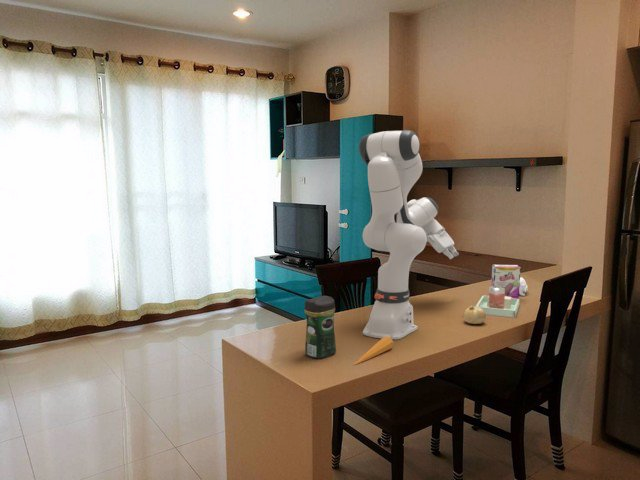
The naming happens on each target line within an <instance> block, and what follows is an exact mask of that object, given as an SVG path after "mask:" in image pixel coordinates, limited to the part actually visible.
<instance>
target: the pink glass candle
mask: <svg viewBox="0 0 640 480" xmlns="http://www.w3.org/2000/svg"><path fill="white" fill-rule="evenodd" d="M488 296H489V305H488V307H489V308H498V309H504V305H505V287H502V286H491V285H490V286H489V287H488Z"/></svg>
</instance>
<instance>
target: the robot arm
mask: <svg viewBox="0 0 640 480" xmlns="http://www.w3.org/2000/svg"><path fill="white" fill-rule="evenodd" d="M419 152H420V138H419V137H418V135H417V134H416V132H414V130H409V129H404V130H386V131H378V132H375V133H373V132H371V133H368V134H366V135H363V136H362V137H361V139H360V141H359V143H358V153H359V156H360V158H361V159H362V161H363V162H364V163H365V165H367V182H368V183H367V184H368V190H369V195H370V200H371V201H370V202H371V211H372V212H371V218H370V220H369V222H368V223H367V224H366V225H365V226H364V228H363V231H362V241H363V243H364V245H365V246H366V247H368V248H370V249H373V250H375V251H380V252H388V253H389V258H388V260H387V262H384V263H383V264H382V265H380V266H379V268H378V271H377V274H378V275H377V288H376V292H375V294H374V299H375V301H374V304H373V306H372V309H371V312H370V315H369V319H368V320H367V321H368V322H367V323H366V325H365V326H364V328H363V330H362V335H364V336H367V337H370V338H376V339H380V340H381V339H382V338H383V337H386V336H387V337H390V338H391V339H392V340H401V339H402V338H404V337H406V336H408V335H410V334H411V333H413V332H415V331H417V330H418V326H417V325H416V324H414V306H413V305H412V304H411V303H410V289H409V278H410V277H409V275H410V269H411V265H412V262H413V261H414V259H415V258H416V256H418V255H419V254H420V253H422V252H423V251H424V249H425V248H426V245H427V242H428V243H429V244H430V245H431V246H432V248H433V249H434V250H435V251H436V252H437V253H439V254H440V253H442V254H443V255H445V256H446V257H448V258H449V260H452V259H453V258H454V257H457V256H459V254H460V253H459V251H457V249H456V248H455V246H454V245H455V242H454V240H453V238H452V237H451V236H450V235H449V234H448V232H447V231H446V228H445V227H444V226H443V225H441V224H440V222H438V221H437V219H435V218H436V216H437V215H438V213H439V205H438V204H437V202H436V201H435V200H434V199H433V198H431V197H427V196H425V197H421V198H419V199H415V198H414V199H411V200H409V201H408V200H407V199H408V195H409V193H410V191H411V189H412V188H413V187H414V185H415V184H416V183H417V181H419V179H420V177H421V175H422V174H423V167H424V166H423V161H422V159H421V158H422V157H421V156H420V155H421V154H420V153H419Z"/></svg>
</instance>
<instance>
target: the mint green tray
mask: <svg viewBox="0 0 640 480" xmlns="http://www.w3.org/2000/svg"><path fill="white" fill-rule="evenodd" d="M488 296H489V295H482V296H481V297H480V299H479V300H478V302H477V303H476V305H474V306H475V307H479V308H481V309H482V310H484V312H485V314H486V315H489V316H497V317H506V318H514V319H515V318H516V316H517V313H518V310H519V308H520V298H519V299H515V298H511V308H510V309H505V308H504V309H498V308H489V307H487V297H488Z"/></svg>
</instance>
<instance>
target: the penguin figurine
mask: <svg viewBox="0 0 640 480" xmlns="http://www.w3.org/2000/svg"><path fill="white" fill-rule="evenodd" d="M528 287H529V286H528V284H527V282H526V280H525V279H524V278H523V277H522V276H520V286H519V296H522V297H525V296H526V293H527V292H528Z"/></svg>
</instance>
